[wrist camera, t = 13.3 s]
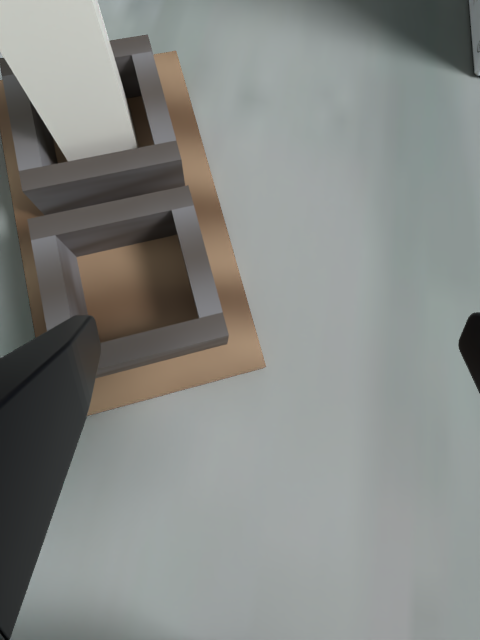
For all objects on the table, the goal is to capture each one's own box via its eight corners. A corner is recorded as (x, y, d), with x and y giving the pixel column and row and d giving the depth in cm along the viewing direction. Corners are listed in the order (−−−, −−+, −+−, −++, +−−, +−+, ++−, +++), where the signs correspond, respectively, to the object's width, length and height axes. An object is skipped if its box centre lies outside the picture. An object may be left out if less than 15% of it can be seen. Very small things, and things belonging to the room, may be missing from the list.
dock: (263, 368, 22) (273, 361, 19) (57, 423, 21) (22, 429, 17) (177, 63, 27) (170, 5, 23) (0, 93, 25) (-39, 37, 21)
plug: (143, 165, 24) (58, -108, 11) (78, 178, 23) (-89, -92, 11) (130, 111, 24) (37, -203, 12) (67, 122, 24) (-101, -192, 11)
